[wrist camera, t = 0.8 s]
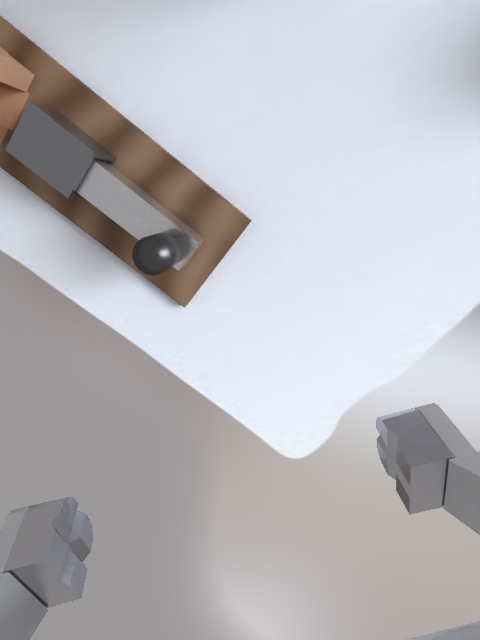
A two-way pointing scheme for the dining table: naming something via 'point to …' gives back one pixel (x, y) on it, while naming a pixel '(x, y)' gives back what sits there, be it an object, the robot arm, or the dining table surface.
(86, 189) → the grey piece
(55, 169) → the metal sleeve
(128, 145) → the walnut board
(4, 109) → the socket block
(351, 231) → the dining table surface
